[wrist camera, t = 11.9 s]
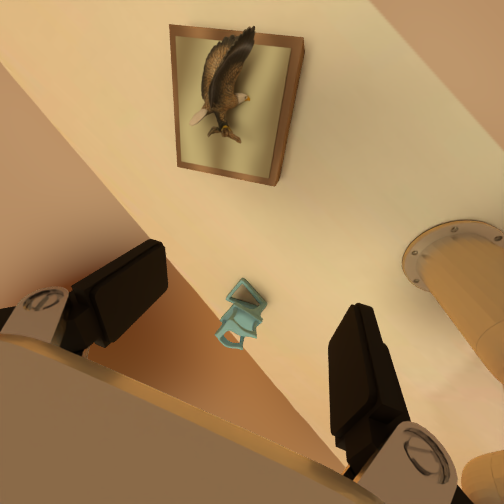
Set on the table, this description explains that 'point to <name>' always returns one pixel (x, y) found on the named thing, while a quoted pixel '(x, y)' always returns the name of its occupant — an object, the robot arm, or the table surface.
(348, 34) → the table surface
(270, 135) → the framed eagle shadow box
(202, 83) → the eagle figurine
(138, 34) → the table surface
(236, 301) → the chair
